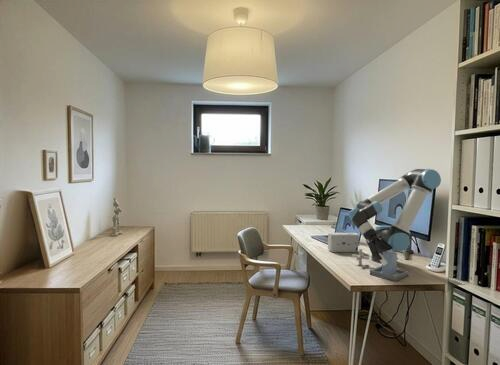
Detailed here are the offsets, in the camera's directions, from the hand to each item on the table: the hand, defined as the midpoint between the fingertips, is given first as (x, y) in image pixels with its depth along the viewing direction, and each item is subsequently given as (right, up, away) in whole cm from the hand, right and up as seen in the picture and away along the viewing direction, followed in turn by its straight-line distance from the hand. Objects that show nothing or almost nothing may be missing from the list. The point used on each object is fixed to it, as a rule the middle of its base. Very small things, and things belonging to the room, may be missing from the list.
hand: (391, 262), depth 187 cm
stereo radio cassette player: (-12, -5, +54) cm, 55 cm away
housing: (-1, -8, +1) cm, 8 cm away
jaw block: (-1, -7, +1) cm, 7 cm away
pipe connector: (-11, -7, +20) cm, 24 cm away
